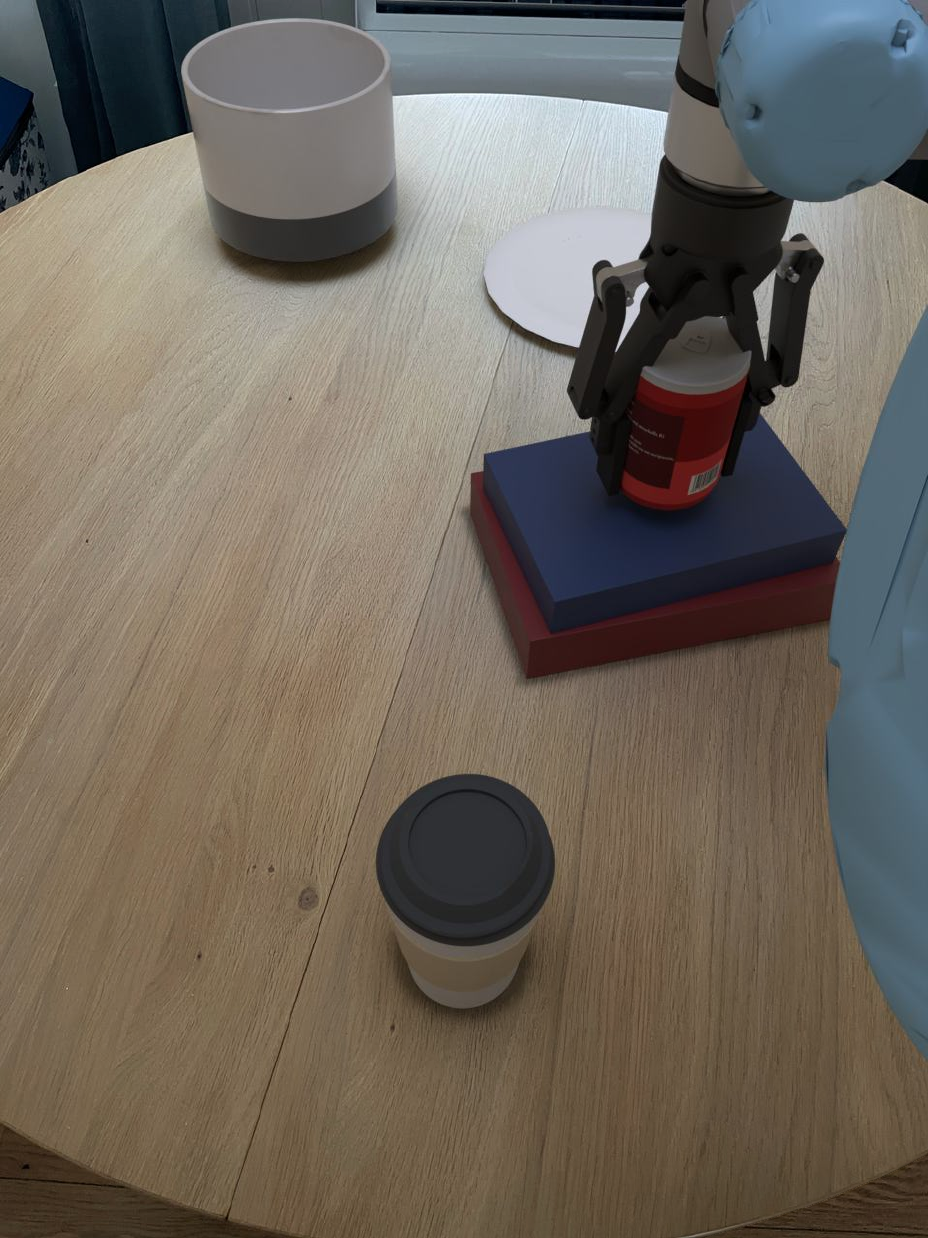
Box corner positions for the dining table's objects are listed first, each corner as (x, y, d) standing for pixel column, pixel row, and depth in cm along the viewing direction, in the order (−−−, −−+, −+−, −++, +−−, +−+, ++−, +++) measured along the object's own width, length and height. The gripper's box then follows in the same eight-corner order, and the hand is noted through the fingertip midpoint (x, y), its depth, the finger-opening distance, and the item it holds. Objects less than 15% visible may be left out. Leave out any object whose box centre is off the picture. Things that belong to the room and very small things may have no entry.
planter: (185, 219, 112) (147, 46, 98) (343, 170, 118) (329, 1, 104) (265, 310, 102) (235, 131, 88) (433, 251, 108) (430, 76, 94)
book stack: (833, 618, 78) (866, 547, 72) (526, 679, 75) (533, 609, 68) (743, 466, 88) (765, 392, 82) (469, 512, 85) (471, 438, 79)
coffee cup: (360, 985, 61) (338, 877, 49) (429, 856, 66) (424, 730, 54) (501, 1055, 58) (513, 958, 47) (561, 916, 64) (586, 797, 52)
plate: (785, 313, 102) (789, 299, 101) (574, 397, 94) (576, 382, 93) (633, 196, 115) (635, 181, 114) (437, 260, 107) (437, 245, 106)
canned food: (722, 445, 76) (756, 317, 67) (713, 522, 71) (749, 395, 62) (617, 429, 77) (638, 300, 68) (601, 504, 72) (622, 375, 63)
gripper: (872, 108, 60) (776, 416, 78) (527, 148, 57) (510, 460, 74) (939, 174, 55) (821, 485, 73) (568, 221, 52) (539, 534, 70)
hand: (664, 472), depth 74 cm, fingers closed on canned food, 8 cm apart
